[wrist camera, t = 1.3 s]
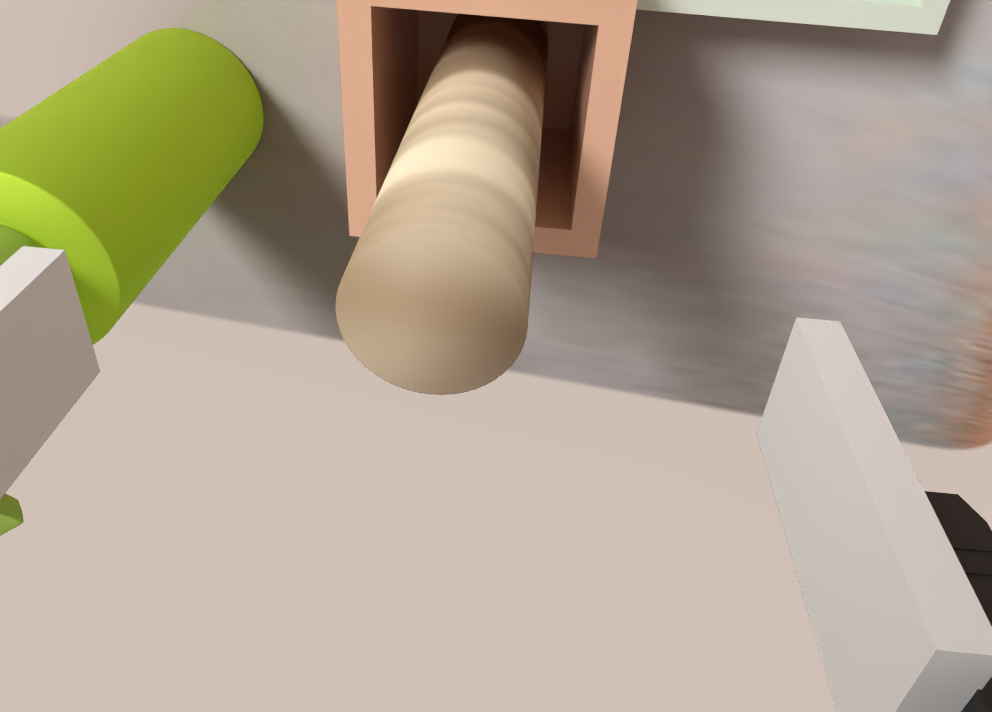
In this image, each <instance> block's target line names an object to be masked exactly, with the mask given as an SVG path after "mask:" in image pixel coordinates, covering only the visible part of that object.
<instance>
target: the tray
mask: <svg viewBox="0 0 992 712" xmlns="http://www.w3.org/2000/svg"><path fill="white" fill-rule="evenodd" d="M949 3H950V0H638V1H637V7H636V9H637V10H649V11H661V12H672V13H684V14H696V15H708V16H719V17H731V18H743V19H755V20H767V21H778V22H790V23H802V24H814V25H825V26H837V27H849V28H861V29H873V30H884V31H896V32H908V33H920V34H931V35H937V34H938V31H939V29H940V26H941V24H942V21H943V18H944V16H945V13H946V10H947V8H948V5H949Z"/></svg>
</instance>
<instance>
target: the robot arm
mask: <svg viewBox="0 0 992 712" xmlns="http://www.w3.org/2000/svg"><path fill="white" fill-rule="evenodd" d="M99 372H100V369H99V366H98V362H97V359H96V355H95V352H94V348H93V345H92V342H91V338H90V335H89V331H88V328H87V324H86V321H85V317H84V314H83V311H82V307H81V304H80V300H79V297H78V293H77V290H76V287H75V283H74V280H73V276H72V273H71V269H70V266H69V262H68V259H67V256H66V252H65V250H60V249H49V248H38V247H27V246H23V247H21V248H20V249H19V250H18V251H17V252H16V253H15V254H13V255H12V256H11V257H10V258H9V259H8V260H6V261H5V262H4V263H3V264H2V265H1V266H0V499H1V498H2V496H3V495H4V494H5V493H6V491H7V490H8V488H9V487H10V486H11V485H12V484H13V482H14V481H15V480H16V479H17V477H18V476H19V475H20V473H21V472H22V471H23V469H24V468H25V467H26V466H27V464H28V463H29V462H30V461H31V459H32V458H33V457H34V455H35V454H36V453H37V452H38V450H39V449H40V448H41V446H42V445H43V444H44V442H45V441H46V440H47V439H48V437H49V436H50V435H51V433H52V432H53V431H54V430H55V428H56V427H57V426H58V425H59V423H60V422H61V421H62V419H63V418H64V417H65V416H66V414H67V413H68V412H69V411H70V409H71V408H72V407H73V405H74V404H75V403H76V402H77V400H78V399H79V398H80V396H81V395H82V394H83V393H84V391H85V390H86V389H87V387H88V386H89V385H90V384H91V382H92V381H93V380H94V378H95V377H96V376H97V375H98V373H99ZM757 437H758V441H759V444H760V448H761V451H762V455H763V458H764V462H765V465H766V469H767V472H768V476H769V479H770V483H771V486H772V490H773V493H774V497H775V500H776V504H777V507H778V511H779V514H780V518H781V521H782V524H783V528H784V532H785V535H786V539H787V542H788V546H789V549H790V553H791V556H792V560H793V563H794V567H795V570H796V574H797V577H798V581H799V584H800V588H801V591H802V595H803V598H804V601H805V605H806V609H807V612H808V616H809V619H810V623H811V626H812V630H813V633H814V637H815V640H816V644H817V647H818V651H819V654H820V658H821V661H822V665H823V668H824V672H825V675H826V678H827V682H828V686H829V689H830V693H831V696H832V699H833V703H834V707H835V710H836V712H992V531H991V529H990V527H989V525H988V524H987V522H986V521H985V520H984V519H983V518H982V517H981V516H980V515H979V514H978V513H977V512H976V511H974V510H973V509H972V508H971V507H970V506H969V505H968V504H967V503H966V502H965V501H964V500H963V499H962V498H961V497H960V496H959V495H957V494H948V493H937V492H927V491H924V489H923V488H922V486H921V483H920V481H919V479H918V477H917V475H916V474H915V471H914V469H913V468H912V465H911V463H910V461H909V459H908V457H907V455H906V453H905V451H904V449H903V447H902V445H901V443H900V441H899V439H898V437H897V435H896V433H895V431H894V429H893V427H892V425H891V423H890V421H889V419H888V417H887V415H886V413H885V411H884V409H883V407H882V405H881V403H880V401H879V399H878V397H877V395H876V393H875V391H874V389H873V387H872V385H871V383H870V381H869V379H868V377H867V375H866V373H865V371H864V369H863V367H862V365H861V363H860V361H859V359H858V357H857V355H856V353H855V351H854V349H853V347H852V345H851V343H850V341H849V338H848V336H847V334H846V332H845V330H844V328H843V326H842V324H841V322H840V321H830V320H819V319H809V318H798V317H796V320H795V323H794V326H793V329H792V332H791V335H790V338H789V341H788V343H787V346H786V349H785V352H784V355H783V358H782V361H781V364H780V367H779V370H778V373H777V375H776V378H775V381H774V384H773V387H772V390H771V393H770V396H769V399H768V402H767V405H766V407H765V410H764V413H763V416H762V419H761V422H760V425H759V428H758V431H757Z"/></svg>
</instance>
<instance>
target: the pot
mask: <svg viewBox="0 0 992 712" xmlns="http://www.w3.org/2000/svg"><path fill="white" fill-rule="evenodd" d="M637 1H638V0H337V17H338V35H339V53H340V72H341V90H342V109H343V127H344V146H345V164H346V183H347V201H348V219H349V236H357V237H360V236H361V233H362V231H363V229H364V227H365V224H366V222H367V220H368V217H369V215H370V213H371V210H372V208H373V206H374V204H375V201H376V199H377V197H378V194H379V192H380V190H381V188H382V185H383V183H384V181H385V178H386V176H387V174H388V172H389V169H390V167H391V165H392V162H393V160H394V158H395V156H396V153H397V151H398V149H399V146H400V144H401V142H402V140H403V137H404V135H405V133H406V130H407V128H408V126H409V124H410V121H411V119H412V117H413V114H414V112H415V110H416V108H417V105H418V103H419V101H420V98H421V96H422V94H423V92H424V89H425V87H426V85H427V82H428V80H429V78H430V76H431V73H432V71H433V69H434V66H435V64H436V62H437V60H438V57H439V55H440V53H441V50H442V48H443V46H444V44H445V41H446V39H447V37H448V34H449V32H450V30H451V27H452V25H453V23H454V21H455V19H456V17H457V15H458V13H459V14H470V15H482V16H494V17H506V18H517V19H529V20H541V21H544V24H545V27H546V30H547V34H548V55H547V69H546V83H545V96H544V110H543V124H542V137H541V151H540V164H539V178H538V192H537V205H536V219H535V233H534V246H533V253H543V254H554V255H564V256H575V257H586V258H597V253H598V246H599V240H600V234H601V228H602V221H603V215H604V209H605V202H606V196H607V190H608V183H609V177H610V171H611V165H612V158H613V152H614V146H615V139H616V133H617V127H618V121H619V114H620V108H621V102H622V95H623V89H624V83H625V76H626V70H627V64H628V58H629V51H630V45H631V39H632V32H633V26H634V20H635V13H636V7H637Z"/></svg>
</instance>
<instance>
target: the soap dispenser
mask: <svg viewBox="0 0 992 712" xmlns="http://www.w3.org/2000/svg"><path fill="white" fill-rule="evenodd" d="M263 123H264V114H263V106H262V101H261V97H260V94H259V91H258V89H257V86H256V84H255V82H254V80H253V78H252V77H251V75H250V73H249V72H248V70H247V69H246V68H245V66H244V65H243V64H242V63H241V62H240V60H239V59H238V58H237V57H236V56H235V55H234V54H233V53H232V52H230V51H229V50H228V49H227V48H226V47H224V46H223V45H221V44H220V43H218V42H217V41H215V40H213V39H211V38H210V37H207V36H205V35H203V34H200V33H198V32H194V31H191V30H186V29H179V28H167V29H160V30H156V31H152V32H150V33H147V34H146V35H143V36H142V37H140V38H139V39H137V40H135V41H134V42H132V43H131V44H129V45H128V46H126V47H125V48H123V49H122V50H120V51H119V52H117V53H116V54H114V55H112V56H111V57H109V58H108V59H106V60H105V61H104V62H102V63H100V64H99V65H97V66H96V67H94V68H92V69H91V70H89V71H88V72H87V73H85V74H84V75H82V76H80V77H79V78H77V79H76V80H74V81H72V82H71V83H69V84H68V85H66V86H65V87H63V88H62V89H60V90H59V91H57V92H56V93H54V94H53V95H51V96H49V97H48V98H46V99H45V100H43V101H42V102H40V103H39V104H37V105H36V106H34V107H33V108H31V109H30V110H28V111H26V112H25V113H23V114H22V115H20V116H19V117H17V118H16V119H14V120H13V121H11V122H10V123H8V124H6V125H5V126H3V127H2V128H0V266H1V265H2V264H3V263H4V262H5V261H6V260H8V259H9V258H10V257H11V256H12V255H13V254H15V253H16V252H17V251H18V250H19V249H20V248H21V247H23V246H27V247H38V248H49V249H60V250H65V252H66V256H67V259H68V262H69V266H70V269H71V273H72V276H73V280H74V283H75V287H76V290H77V293H78V297H79V300H80V304H81V307H82V311H83V314H84V317H85V321H86V324H87V328H88V331H89V335H90V338H91V342H92V345H93V344H94V343H96V342H98V341H99V340H100V339H102V338H103V337H104V336H105V335H106V334H107V333H108V332H109V331H110V330H111V328H112V327H113V326H114V325H115V324H116V322H117V321H118V320H119V319H120V317H121V316H122V315H123V314H124V312H125V311H126V310H127V309H128V307H129V306H130V305H131V304H132V302H133V301H134V300H135V299H136V297H137V296H138V295H139V294H140V292H141V291H142V290H143V289H144V287H145V286H146V285H147V284H148V282H149V281H150V280H151V279H152V277H153V276H154V275H155V274H156V272H157V271H158V270H159V269H160V267H161V266H162V265H163V264H164V262H165V261H166V260H167V259H168V258H169V256H170V255H171V254H172V253H173V251H174V250H175V249H176V248H177V246H178V245H179V244H180V243H181V241H182V240H183V239H184V238H185V236H186V235H187V234H188V233H189V231H190V230H191V229H192V228H193V226H194V225H195V224H196V223H197V221H198V220H199V219H200V218H201V216H202V215H203V214H204V213H205V211H206V210H207V209H208V208H209V206H210V205H211V204H212V203H213V201H214V200H215V199H216V198H217V196H218V195H219V194H220V193H221V192H222V190H223V189H224V188H225V187H226V185H227V184H228V183H229V182H230V180H231V179H232V178H233V177H234V175H235V174H236V173H237V172H238V170H239V169H240V168H241V167H242V165H243V164H244V163H245V162H246V160H247V159H248V158H249V157H250V155H251V154H252V153H253V152H254V150H255V149H256V147H257V145H258V143H259V141H260V138H261V135H262V131H263ZM22 523H23V515H22V511H21V507H20V504H19V501H18V500H17V499H15V498H13V497H11V496H9V495H7V494H4V495H3V496H2V498H1V499H0V535H2V534H4V533H6V532H8V531H9V530H11V529H13V528H15V527H16V526H18V525H20V524H22Z"/></svg>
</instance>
